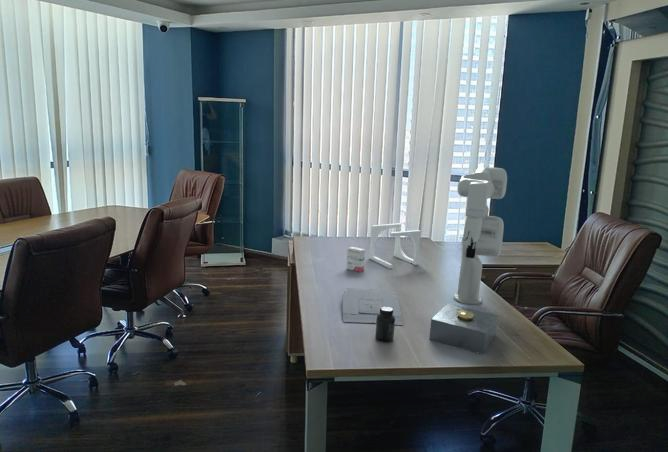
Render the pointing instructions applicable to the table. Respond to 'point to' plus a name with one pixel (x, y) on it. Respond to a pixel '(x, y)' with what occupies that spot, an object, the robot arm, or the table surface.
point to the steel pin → (465, 315)
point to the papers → (368, 305)
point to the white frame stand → (398, 250)
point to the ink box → (355, 259)
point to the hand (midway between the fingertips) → (470, 257)
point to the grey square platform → (463, 328)
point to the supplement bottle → (385, 325)
